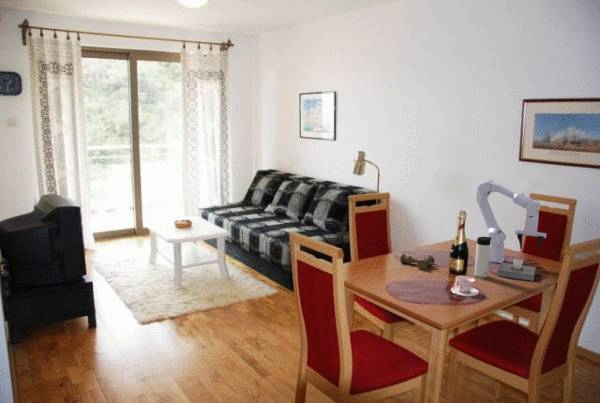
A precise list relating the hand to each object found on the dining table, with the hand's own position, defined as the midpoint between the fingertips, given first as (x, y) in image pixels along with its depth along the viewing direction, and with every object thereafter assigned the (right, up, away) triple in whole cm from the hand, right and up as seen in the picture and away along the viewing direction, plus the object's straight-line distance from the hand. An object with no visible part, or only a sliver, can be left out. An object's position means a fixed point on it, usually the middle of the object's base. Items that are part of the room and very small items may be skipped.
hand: (529, 249), depth 254 cm
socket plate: (-11, -11, -10) cm, 19 cm away
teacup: (-45, -16, -34) cm, 58 cm away
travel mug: (-30, -12, -14) cm, 35 cm away
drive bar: (-11, -11, -10) cm, 19 cm away
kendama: (-57, -9, +1) cm, 58 cm away
